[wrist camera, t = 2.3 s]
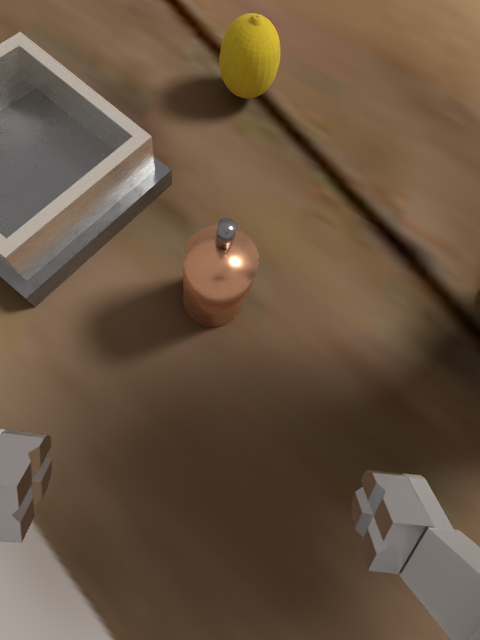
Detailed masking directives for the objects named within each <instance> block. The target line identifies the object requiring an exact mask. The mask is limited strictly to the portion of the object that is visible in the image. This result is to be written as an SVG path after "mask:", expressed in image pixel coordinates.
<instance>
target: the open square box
mask: <svg viewBox="0 0 480 640" xmlns="http://www.w3.org/2000/svg"><path fill="white" fill-rule="evenodd" d="M171 184H172V177H171V169H169V168H168V167H167V166H166V165H164V164H163V163H162V162H161V161H159V160H158V159H157V158H156V157H154V156H153V146H152V136H150V135H149V134H148V133H147V132H145V131H144V130H143V129H142V128H140V127H139V126H138V125H136V124H135V123H134V122H133V121H131V120H130V119H129V118H128V117H126V116H125V115H124V114H123V113H121V112H120V111H119V110H118V109H116V108H115V107H114V106H113V105H111V104H110V103H109V102H108V101H106V100H105V99H104V98H103V97H101V96H100V95H99V94H98V93H96V92H95V91H94V90H93V89H91V88H90V87H89V86H88V85H86V84H85V83H84V82H83V81H81V80H80V79H79V78H78V77H76V76H75V75H74V74H72V73H71V72H70V71H69V70H67V69H66V68H65V67H64V66H62V65H61V64H60V63H59V62H57V61H56V60H55V59H54V58H52V57H51V56H50V55H49V54H47V53H46V52H45V51H44V50H42V49H41V48H40V47H39V46H37V45H36V44H35V43H34V42H32V41H31V40H30V39H29V38H27V37H26V36H25V35H24V34H22V33H21V32H19V33H17V34H16V35H14V36H13V37H11V38H9V39H8V40H6V41H4V42H3V43H1V44H0V277H1V278H2V279H3V280H4V281H5V282H7V283H8V284H9V285H10V286H11V287H12V288H13V289H15V290H16V291H17V292H18V293H19V294H20V295H21V296H23V297H24V298H25V299H26V300H27V301H28V302H30V303H31V304H32V305H33V306H34V307H36V306H37V305H38V304H39V303H40V302H41V301H42V300H44V299H45V298H46V297H47V296H48V295H49V294H50V293H51V292H52V291H54V290H55V289H56V288H57V287H58V286H59V285H60V284H61V283H62V282H63V281H65V280H66V279H67V278H68V277H69V276H70V275H71V274H72V273H73V272H75V271H76V270H77V269H78V268H79V267H80V266H81V265H82V264H83V263H85V262H86V261H87V260H88V259H89V258H90V257H91V256H92V255H93V254H95V253H96V252H97V251H98V250H99V249H100V248H101V247H102V246H103V245H105V244H106V243H107V242H108V241H109V240H110V239H111V238H112V237H113V236H115V235H116V234H117V233H118V232H119V231H120V230H121V229H122V228H123V227H125V226H126V225H127V224H128V223H129V222H130V221H131V220H132V219H133V218H135V217H136V216H137V215H138V214H139V213H140V212H141V211H142V210H143V209H145V208H146V207H147V206H148V205H149V204H150V203H151V202H152V201H153V200H155V199H156V198H157V197H158V196H159V195H160V194H161V193H162V192H163V191H165V190H166V189H167V188H168V187H169V186H170V185H171Z"/></svg>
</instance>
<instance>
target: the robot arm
mask: <svg viewBox="0 0 480 640" xmlns="http://www.w3.org/2000/svg"><path fill="white" fill-rule="evenodd" d="M50 448H51V438H50V436H49V435H45V434H38V433H30V432H23V431H15V430H8V429H6V430H5V429H0V541H6V542H22V541H23V539H24V537H25V534H26V532H27V530H28V528H29V526H30V524H31V522H32V520H33V518H34V505H35V504H37V503H38V502H40V501H41V500H42V499H43V497H44V494H45V492H46V490H47V487H48V484H49V480H50V477H51V469H52V460H51V459H50V458H49V457H48V456H47V454H48V452H49V450H50ZM361 483H362V486H363V487H362V488H360V489H359V490H357V491H356V492H355V494H354V496H353V499H352V504H351V516H352V521H353V525H354V528H355V530H356V531H357V532H358V533H359V534H360V535H361V536H362V537H363V539H362V541H361V544H360V547H361V550H362V553H363V557H364V560H365V563H366V566H367V569H368V571H375V572H384V573H393V574H401V575H400V577H401V578H402V579H403V581H404V582H405V583H406V584H407V586H408V587H409V588H410V589H411V591H412V592H413V593H414V594H415V595H416V597H417V598H418V599H419V600H420V602H421V603H422V604H423V605H424V607H425V608H426V609H427V610H428V612H429V613H430V614H431V615H432V616H433V618H434V619H435V620H436V621H437V623H438V624H439V625H440V626H441V628H442V629H443V630H444V631H445V633H446V634H447V635H448V636H449V637H450V639H451V640H480V547H479V546H477V545H476V544H475V543H474V542H473V541H471V540H470V539H469V538H468V537H467V536H466V535H464V534H463V533H462V532H461V531H460V530H454V529H453V527H452V526H451V524H450V522H449V520H448V518H447V517H446V515H445V513H444V511H443V509H442V508H441V506H440V504H439V502H438V501H437V499H436V497H435V495H434V493H433V492H432V490H431V488H430V486H429V484H428V483H427V481H426V479H425V478H424V477H423V476H421V475H413V474H401V473H393V472H383V471H373V470H367V471H366V472H364V473H363V475H362V478H361Z"/></svg>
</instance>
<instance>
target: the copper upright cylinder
mask: <svg viewBox="0 0 480 640" xmlns="http://www.w3.org/2000/svg"><path fill="white" fill-rule="evenodd" d="M258 266H259V255H258V251H257V248H256V246H255V244H254V242H253V241H252V240H251V238H250V237H249V236H248V235H247V234H246V233H244V232H243V231H241V230H240V229H238V228H237V225H236V223H235V221H234V220H232V219H230V218H223V219H221V220H220V221H219V223H218V224H215V225H209V226H206V227H204V228H202V229H200V230H198V231H197V232H195V233H194V234H193V235H192V236H191V238H190V239H189V241H188V242H187V244H186V247H185V251H184V275H183V303H184V307H185V310H186V312H187V313H188V315H189V316H190V317H191V318H192V319H193V320H194V321H196V322H197V323H199V324H201V325H204V326H208V327H219V326H223V325H225V324H228V323H229V322H231V321H232V320H233V319H234V318H235V317H236V316H237V314H238V313H239V311H240V309H241V306H242V304H243V302H244V300H245V297H246V295H247V293H248V291H249V288H250V286H251V284H252V282H253V279H254V277H255V275H256V273H257V270H258Z"/></svg>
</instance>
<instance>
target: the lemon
mask: <svg viewBox="0 0 480 640" xmlns="http://www.w3.org/2000/svg"><path fill="white" fill-rule="evenodd" d="M279 61H280V41H279V37H278V34H277V31H276V29H275V27H274V26H273V24H272V23H271V22H270V21H269V20H268V19H267V18H265V17H264V16H262V15H259V14H254V13H250V14H245V15H242V16H240V17H238V18H237V19H236V20H235V21H234V22H233V23H232V24H231V25H230V26H229V28H228V30H227V32H226V34H225V36H224V39H223V42H222V45H221V51H220V58H219V64H220V71H221V76H222V79H223V81H224V83H225V85H226V86H227V88H228V89H229V90H230V91H231V92H232V93H233V94H235V95H237V96H239V97H242V98H255V97H257V96H259V95H261V94H262V93H264V92H265V91H266V90H267V89H268V88H269V87H270V85H271V84H272V82H273V80H274V78H275V76H276V73H277V70H278V66H279Z"/></svg>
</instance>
